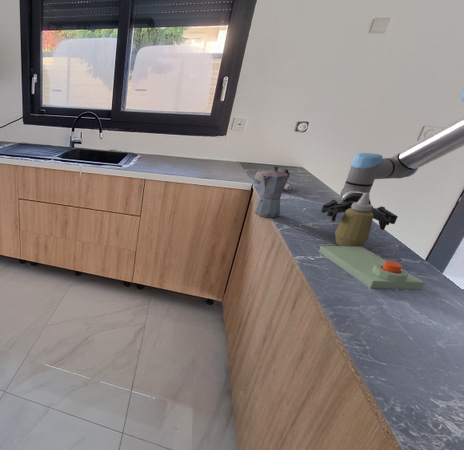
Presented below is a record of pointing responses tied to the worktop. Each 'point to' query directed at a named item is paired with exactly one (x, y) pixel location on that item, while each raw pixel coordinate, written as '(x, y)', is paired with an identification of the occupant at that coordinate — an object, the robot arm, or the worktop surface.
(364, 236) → the squeeze bottle
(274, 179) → the moka pot
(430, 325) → the worktop surface
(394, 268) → the switch
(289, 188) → the decorative bottle
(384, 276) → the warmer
